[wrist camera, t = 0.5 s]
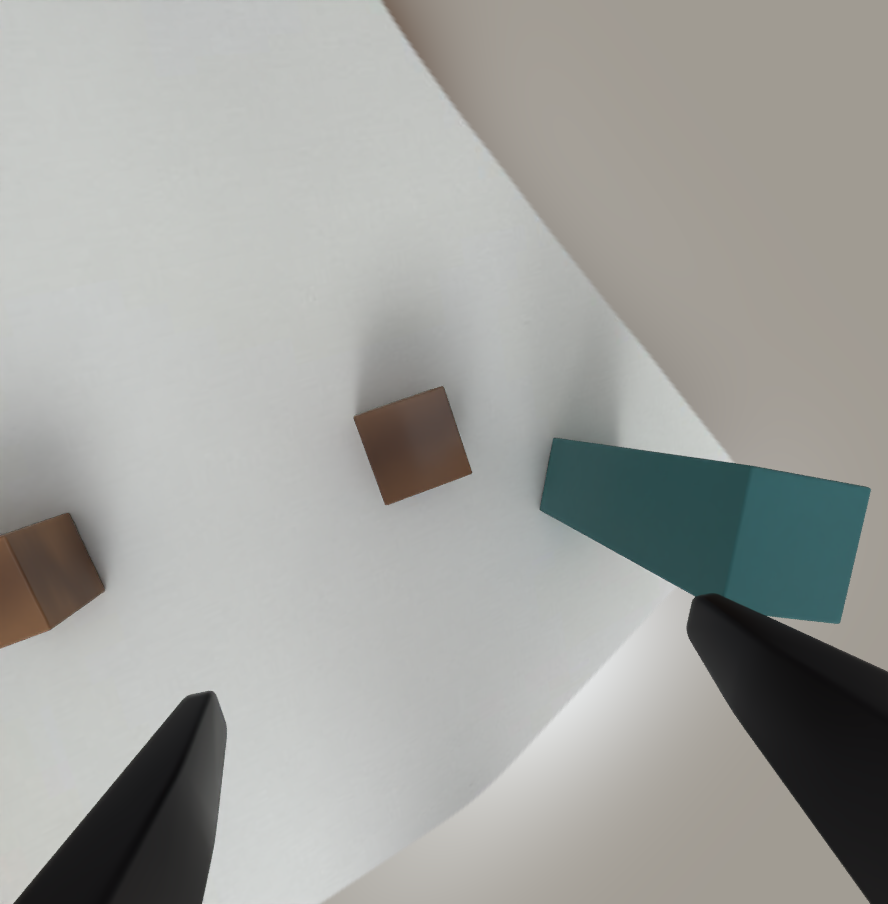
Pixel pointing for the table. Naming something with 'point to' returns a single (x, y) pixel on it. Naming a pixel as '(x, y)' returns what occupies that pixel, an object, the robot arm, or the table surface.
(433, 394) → the block
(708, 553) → the teal block
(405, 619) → the table surface
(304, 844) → the table surface
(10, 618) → the block
